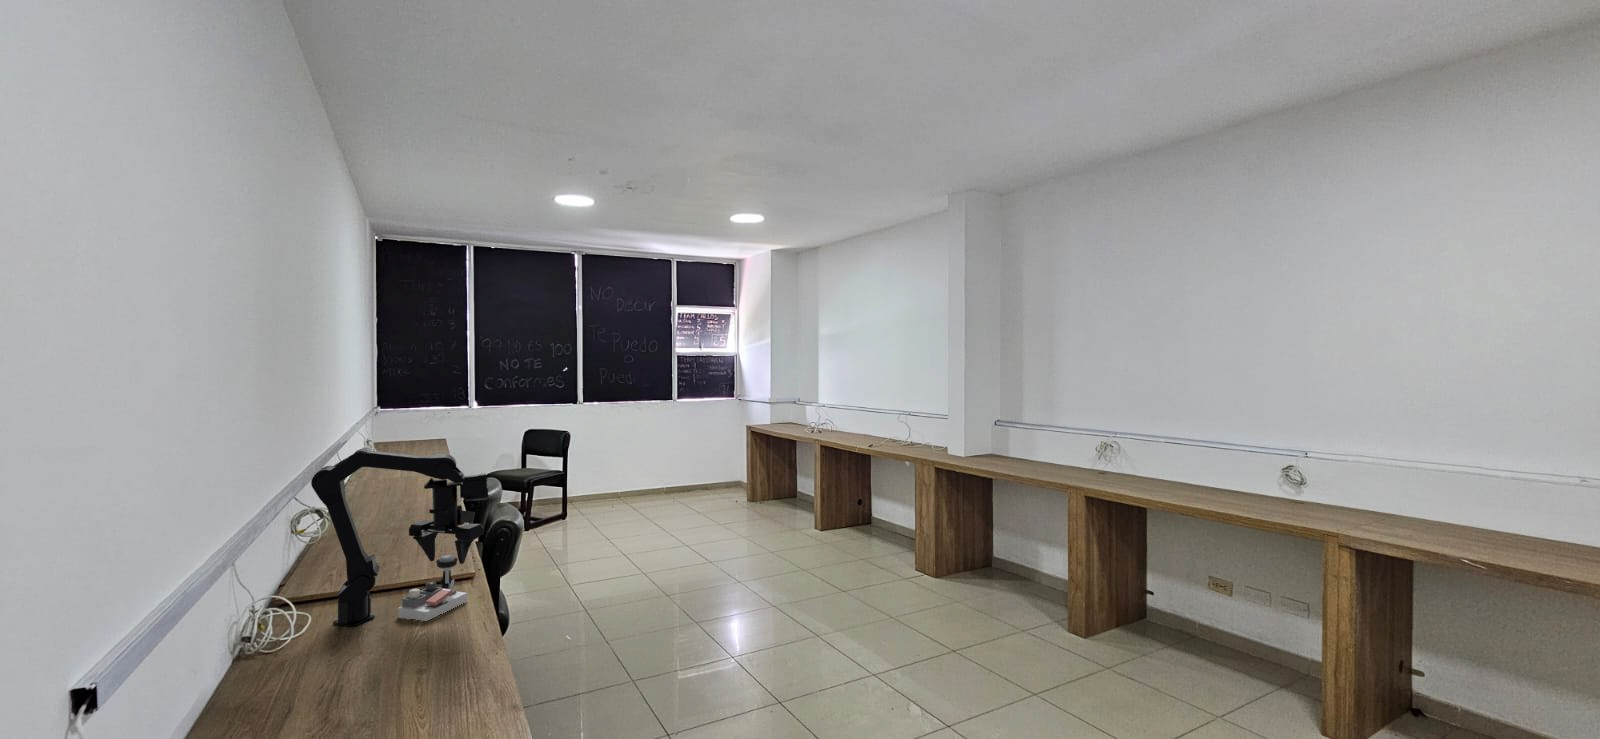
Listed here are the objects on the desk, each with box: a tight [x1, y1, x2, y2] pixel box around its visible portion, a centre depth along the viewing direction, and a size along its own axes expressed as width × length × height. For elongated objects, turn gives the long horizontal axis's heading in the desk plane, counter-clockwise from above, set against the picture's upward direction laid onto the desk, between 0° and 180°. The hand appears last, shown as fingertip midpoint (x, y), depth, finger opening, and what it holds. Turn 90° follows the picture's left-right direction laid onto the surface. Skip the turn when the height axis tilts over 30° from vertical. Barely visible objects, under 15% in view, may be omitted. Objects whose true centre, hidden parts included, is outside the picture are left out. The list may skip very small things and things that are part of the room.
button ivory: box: [408, 588, 421, 600], centre depth 177 cm, size 2×2×2 cm
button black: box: [425, 581, 437, 592], centre depth 182 cm, size 2×2×2 cm
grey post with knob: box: [435, 554, 459, 590], centre depth 193 cm, size 7×5×10 cm
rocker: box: [426, 588, 453, 606], centre depth 178 cm, size 6×3×1 cm, turn 165°
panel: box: [397, 579, 468, 621], centre depth 180 cm, size 14×9×6 cm, turn 165°
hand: (447, 562), depth 180 cm, fingers open, 9 cm apart
